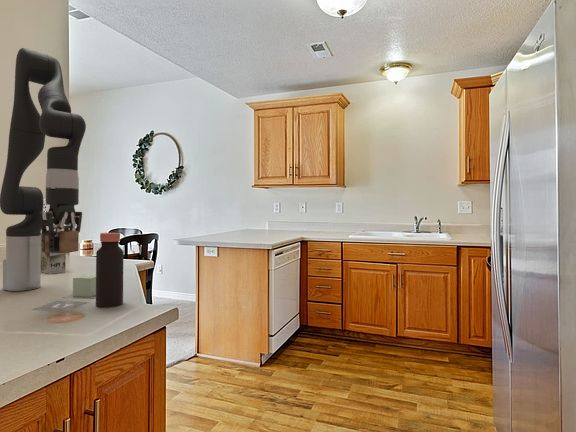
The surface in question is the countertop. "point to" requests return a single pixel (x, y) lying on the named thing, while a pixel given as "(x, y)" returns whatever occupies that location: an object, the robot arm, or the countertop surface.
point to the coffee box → (51, 260)
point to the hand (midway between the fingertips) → (62, 250)
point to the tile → (60, 306)
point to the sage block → (84, 286)
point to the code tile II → (79, 297)
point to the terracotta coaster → (65, 317)
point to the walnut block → (65, 242)
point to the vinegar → (109, 271)
